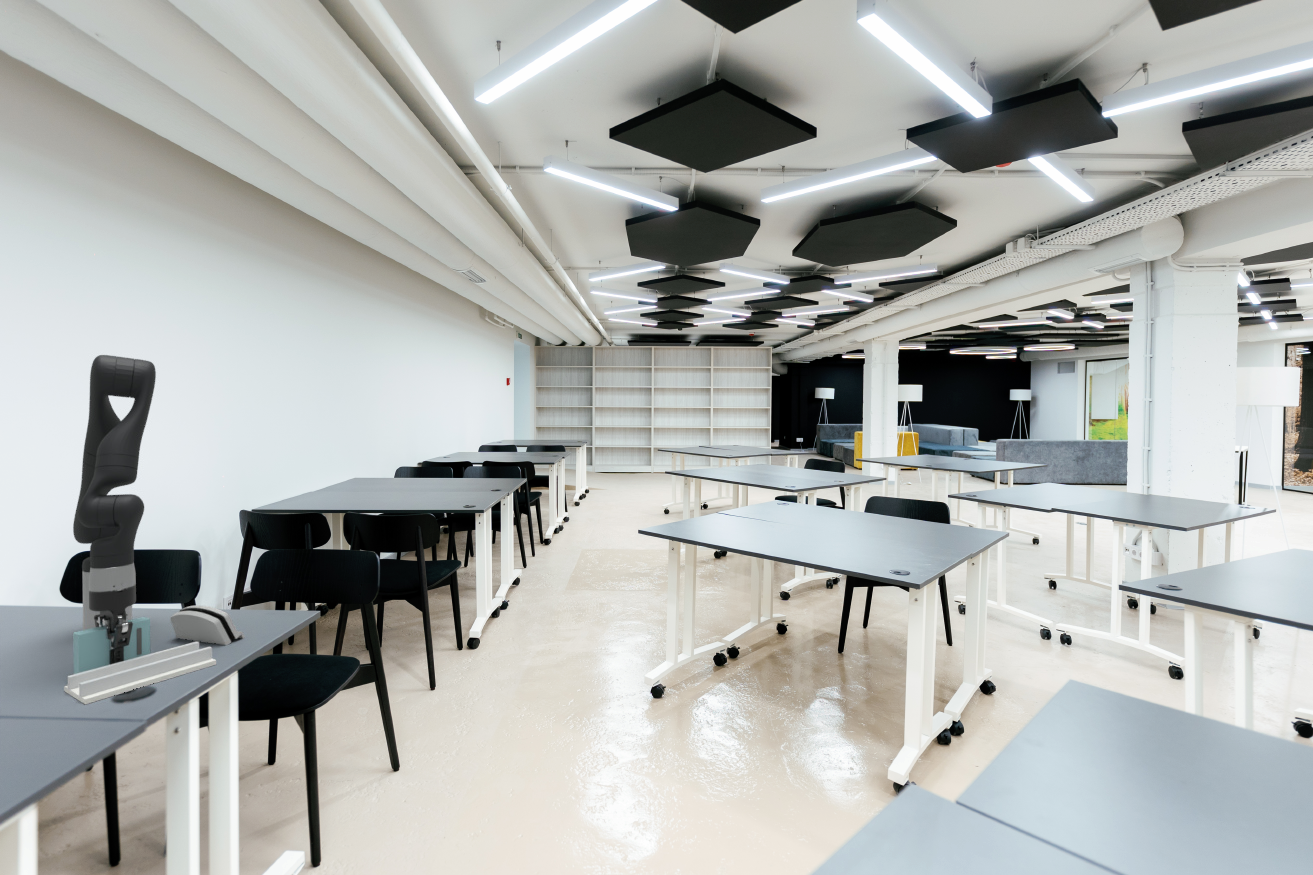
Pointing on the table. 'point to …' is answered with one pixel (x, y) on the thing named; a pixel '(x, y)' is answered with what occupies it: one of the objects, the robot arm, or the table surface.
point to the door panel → (95, 646)
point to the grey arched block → (204, 625)
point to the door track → (138, 672)
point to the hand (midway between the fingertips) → (113, 662)
